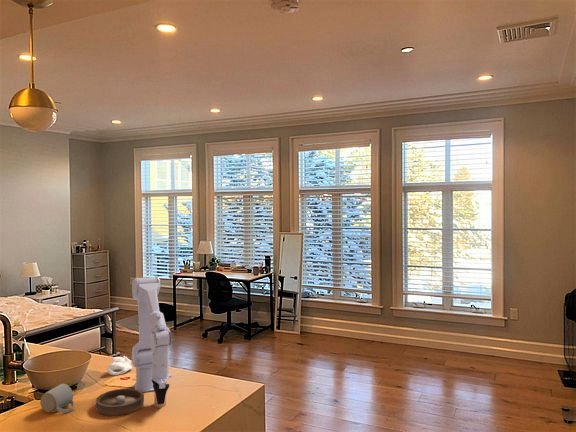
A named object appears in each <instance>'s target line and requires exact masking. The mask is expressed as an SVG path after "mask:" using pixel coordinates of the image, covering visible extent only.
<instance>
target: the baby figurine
mask: <svg viewBox="0 0 576 432" xmlns="http://www.w3.org/2000/svg"><path fill="white" fill-rule="evenodd" d="M132 370H133V365H132V359H130V358H128V356H125V355H123V357H122V356H115V357H113V358H112V361H111V363H110V364H109V365H108V366H107V368H106V372H107V373H108V374H109V375H112V376H120V375H122V374H125V373H127V372H128V371H132ZM119 374H120V375H119Z"/></svg>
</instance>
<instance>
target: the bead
mask: <svg viewBox="0 0 576 432" xmlns="http://www.w3.org/2000/svg"><path fill="white" fill-rule="evenodd" d="M153 395H154V403H153V404H154V407H155V408H164V407H166V406H167V397H166V396H167V395H166V396H165V401H164V404H158V403H157V398H156V393H155V392H154V394H153Z"/></svg>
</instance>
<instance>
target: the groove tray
mask: <svg viewBox="0 0 576 432" xmlns="http://www.w3.org/2000/svg"><path fill="white" fill-rule="evenodd" d="M144 393H145V392H142V391H140V390H137V389H135V388H119V389H114V390H113V389H112V390H110V391H109V390H108V391H106V392H104V393H102V394H100V395H98V396H97V397H96V399H95V411H96V413H97V414H99V415H101V416H106V417H118V416H119V417H120V416H125V415H128V414H132V413H135V412H137V411H139V410H141V408H143V406H144V402H145V395H144Z"/></svg>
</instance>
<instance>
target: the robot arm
mask: <svg viewBox="0 0 576 432" xmlns="http://www.w3.org/2000/svg"><path fill="white" fill-rule="evenodd" d="M131 283H132V284H131V293H132V294H131V295H132V299H133V300H136V301H137V313H138V314H137V316H138V317H137V318H138V319H137V320H138V321H137V322H138V339H139V340H138V342H137V343H136V344H134V345H133V346H132V349H131V365H132V367H133V366H134V368H135V382H134V389H137V390H140V391H142V392H143V393H145V392H146V393H147V392H154V394H155V393H156V398H157V403H158V404H164V401H165V396H167V392H168V390H169V388H170V383H167V381H168V380H169V379H171V378H172V377H173V375H172V373H169V367H170V366H169V365H170V364H169V361H170V360H169V359H170V354H169V353H170V352H169V351H170V349H169V348H170V346H171V344H172V333H171V330H170V329H169V327H168V326H167V324H166V319H165V315H164V313H163V312H161V311H160V306H159V305H160V304H159V298H158V295H159V293H160V290H161V279H160V278H159V276H157V275H156V276H150V277H134V278H133V279H132V282H131Z"/></svg>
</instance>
